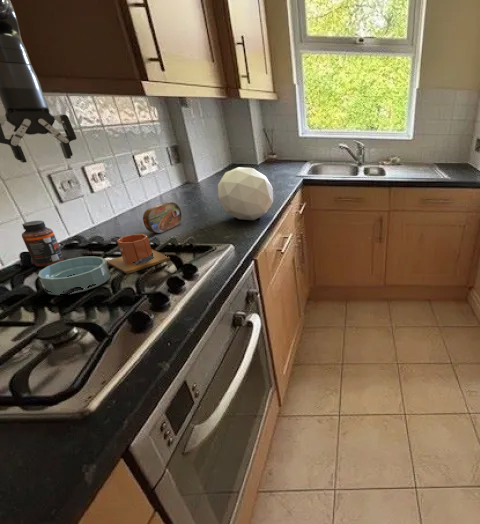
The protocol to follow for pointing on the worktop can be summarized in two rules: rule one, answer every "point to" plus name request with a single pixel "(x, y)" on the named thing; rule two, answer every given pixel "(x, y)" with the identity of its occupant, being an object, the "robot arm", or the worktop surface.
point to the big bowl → (85, 275)
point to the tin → (162, 217)
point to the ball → (245, 193)
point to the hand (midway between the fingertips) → (46, 160)
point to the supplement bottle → (41, 244)
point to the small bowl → (134, 247)
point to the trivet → (130, 268)
